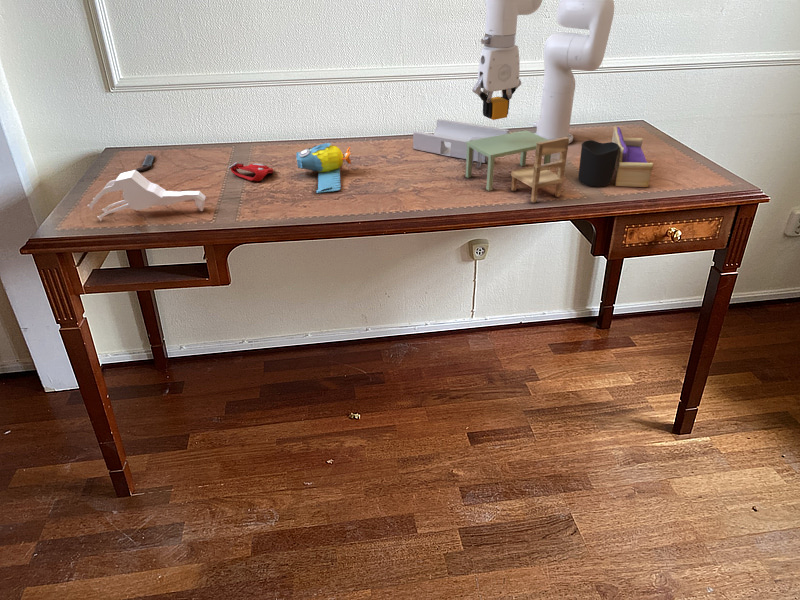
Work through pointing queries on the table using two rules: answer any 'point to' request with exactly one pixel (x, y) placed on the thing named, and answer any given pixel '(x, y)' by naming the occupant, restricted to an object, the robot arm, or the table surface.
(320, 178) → the blue yellow toy fish
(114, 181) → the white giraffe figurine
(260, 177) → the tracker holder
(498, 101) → the block
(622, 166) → the toy sofa
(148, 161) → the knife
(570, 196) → the table surface
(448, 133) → the grey storage tray
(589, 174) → the pen holder
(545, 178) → the chair
